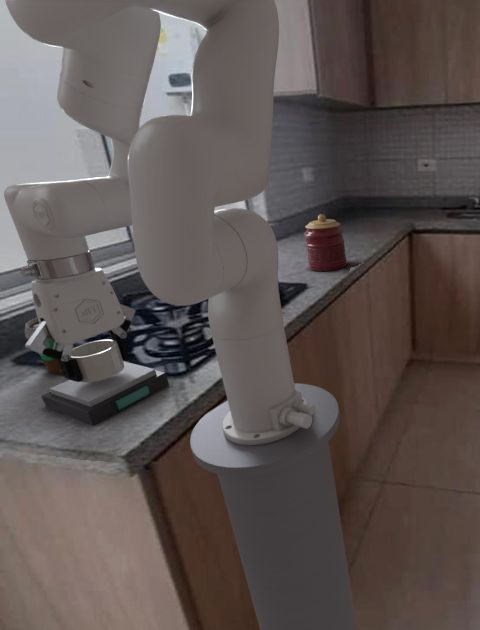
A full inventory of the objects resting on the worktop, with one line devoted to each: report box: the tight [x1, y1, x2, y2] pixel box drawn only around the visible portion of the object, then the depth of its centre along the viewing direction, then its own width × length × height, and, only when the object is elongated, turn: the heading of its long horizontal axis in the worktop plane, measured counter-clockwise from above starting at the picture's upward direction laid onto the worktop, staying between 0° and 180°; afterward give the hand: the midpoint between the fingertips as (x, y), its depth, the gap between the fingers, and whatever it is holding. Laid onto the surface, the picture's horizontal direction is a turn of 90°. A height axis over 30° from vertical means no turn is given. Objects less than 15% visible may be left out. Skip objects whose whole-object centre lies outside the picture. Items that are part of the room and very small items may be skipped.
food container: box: [24, 316, 75, 376], centre depth 85 cm, size 12×6×10 cm, turn 40°
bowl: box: [71, 339, 125, 383], centre depth 73 cm, size 7×7×4 cm
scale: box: [41, 361, 170, 426], centre depth 75 cm, size 14×13×4 cm
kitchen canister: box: [303, 213, 348, 272], centre depth 147 cm, size 13×13×18 cm
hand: (99, 368), depth 74 cm, fingers closed on bowl, 6 cm apart
